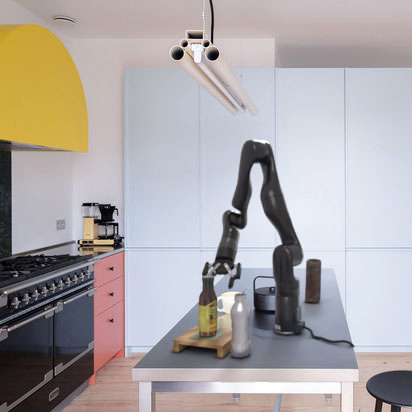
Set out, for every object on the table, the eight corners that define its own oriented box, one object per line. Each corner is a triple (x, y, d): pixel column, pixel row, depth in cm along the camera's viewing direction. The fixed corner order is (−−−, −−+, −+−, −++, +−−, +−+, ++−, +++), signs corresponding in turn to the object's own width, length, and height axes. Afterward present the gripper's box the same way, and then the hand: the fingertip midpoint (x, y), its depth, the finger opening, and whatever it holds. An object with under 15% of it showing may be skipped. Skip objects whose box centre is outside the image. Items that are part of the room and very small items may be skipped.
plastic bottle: (230, 352, 137) (230, 292, 136) (251, 351, 137) (251, 291, 136) (228, 360, 130) (228, 297, 129) (250, 359, 131) (250, 297, 130)
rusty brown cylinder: (321, 300, 199) (322, 258, 198) (320, 304, 192) (320, 261, 191) (306, 299, 201) (306, 258, 200) (303, 303, 193) (304, 261, 192)
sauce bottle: (212, 338, 137) (212, 279, 136) (195, 337, 139) (194, 278, 138) (220, 331, 144) (220, 275, 143) (203, 330, 145) (203, 274, 144)
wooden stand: (241, 342, 145) (241, 330, 145) (222, 358, 132) (222, 345, 132) (195, 336, 150) (195, 325, 150) (173, 351, 137) (173, 339, 137)
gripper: (207, 245, 161) (196, 281, 150) (243, 246, 159) (235, 282, 149) (211, 256, 166) (201, 292, 155) (246, 257, 165) (239, 293, 154)
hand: (218, 287), depth 152 cm, fingers open, 8 cm apart
